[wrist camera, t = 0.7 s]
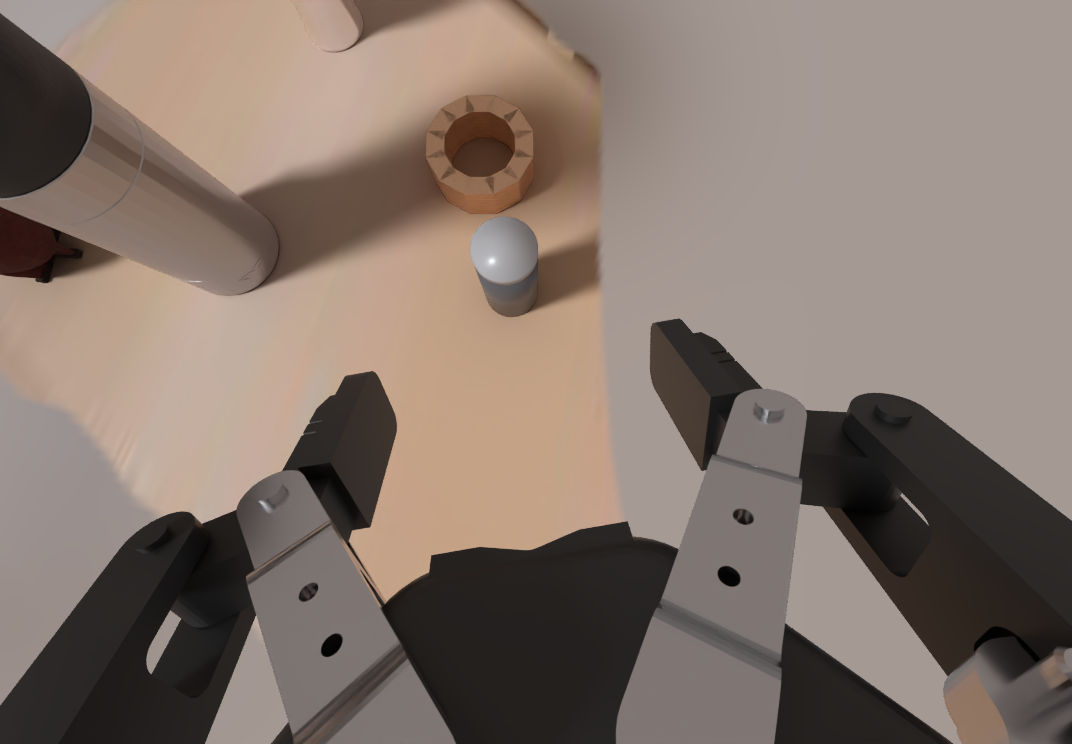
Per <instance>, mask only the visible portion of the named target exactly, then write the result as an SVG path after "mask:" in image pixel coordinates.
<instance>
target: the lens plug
mask: <svg viewBox="0 0 1072 744" xmlns="http://www.w3.org/2000/svg"><path fill="white" fill-rule="evenodd" d="M470 253H471V258H472V261H473V264H474V266H475V269H476V271H477V274H478V277H479V279H480V282H481V285H482V287H483V290H484V293H485V295H486V298H487V301H488V303H489V305H490V306H491V308H492V309H493V310H494V311H495V312H497V313H498V314H500V315H503V316H506V317H516V316H520V315H523V314H525V313H526V312H528V311H529V310H530V309H531V308H532V306H533V305H534V303H535V301H536V298H537V276H538V243H537V239H536V236H535V234H534V232H533V231H532V230H531V228H530V227H529V226H528V225H526V224H525V223H524V222H522V221H520V220H518V219H516V218H512V217H497V218H493V219H491V220H488V221H487V222H485V223H483V224H482V225H481V226H480V227H479V228H478V229H477V231H476V232H475V234H474V235H473V238H472V240H471V245H470Z"/></svg>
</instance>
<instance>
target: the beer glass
mask: <svg viewBox="0 0 1072 744" xmlns="http://www.w3.org/2000/svg"><path fill="white" fill-rule="evenodd" d="M291 1H292V3H293V4H294V6H295V8H296V10H297V12H298V14H299V17H300V19H301V22H302V24H303V27H304V30H305V32H306V34H307V36H308V38H309V40H310V41H311V42H312V43H313V44H314V45H315V46H316V47H318V48H319V49H322V50H325V51H329V52H338V51H342V50H345V49H347V48H349V47H351V46H352V45H354V44H355V43H356V42H357V41H358V39H359V38H360V36H361V34H362V31H363V20H362V16H361V14H360V12H359V10H358V9H357V7H356V5H355V4H354V2H353V1H352V0H291Z"/></svg>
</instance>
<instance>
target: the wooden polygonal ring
mask: <svg viewBox="0 0 1072 744" xmlns="http://www.w3.org/2000/svg"><path fill="white" fill-rule="evenodd" d="M474 138H495V139H497V140H499V141H501V142H502V143H504V144H506V145H508V146H509V148H510V149H511V151H512V153H513V154H514V155H513V157H512V158H511V160H510V161H509V163H508V165H507V166H506V168H504V169H503V170H501V171H499V172H497V173H495V174H493V175H491V176H490V177H469V176H467V175H465V174H463V173H461V172H460V171H458V170H456V169H454V168H453V167H452V159H453V157H454V156H455V154H456V152H457V151H458V149H459V148H460V146H461V145H463V144H465V143H467V142H469V141H471V140H472V139H474ZM426 160H427V162H428V164H429V167H430V169H431V172H432V174H433V177H434V179H435V181H436V183H437V184H438V186H439V188H440V189H441V191H442V193H443V194H444V196H445V198H446V199H447V201H448V202H450V203H452V204H454V205H455V206H457V207H459V208H461V209H463V210H465V211H466V212H468V213H470V214H497V213H499V212H501V211H503V210H505V209H506V208H508V207H510V206H512V205H514V204H516V203H517V202H519V201H520V200H521V199H522V197H523V196H524V194H525V192H526V191H527V189H528V187H529V186H530V184H531V182H532V181H533V130H532V128H531V127H530V125H529V123H528V122H527V120H526V119H525V117H524V116H523V114H522V112H521V111H520V109H519V108H517V107H515V106H514V105H512V104H510V103H508V102H506V101H504V100H502V99H500V98H498V97H496V96H494V95H483V96H464V97H462V98H460V99H459V100H457V101H455V102H453V103H451V104H449V105H447V106H445V107H443V108H441V110H440V111H439V113H438V114H437V116H436V117H435V119H434V120H433V122H432V123H431V125H430V126H429V128H428V130H427V131H426Z"/></svg>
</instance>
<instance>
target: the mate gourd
mask: <svg viewBox="0 0 1072 744" xmlns="http://www.w3.org/2000/svg"><path fill="white" fill-rule="evenodd" d="M59 235H60V231H59V230H57V229H54V228H52V227H49V226H47V225H44V224H42V223H39V222H36V221H34V220H31V219H29V218H27V217H24V216H22V215H19V214H17V213H14V212H12V211H9V210H7V209H4V208H2V207H0V274H1V275H5V276H13V277H27V278H36V280H35V281H36V282H42V283H48V282H49V279H50V275H51V270H52V266H53V262H54V259H55V258H56V257H62V258H81V257H82V254H83V252H82V251H81V250H78V249H70V248H67V247H65V246H63V245H61V244H59V243H58V239H59Z"/></svg>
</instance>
